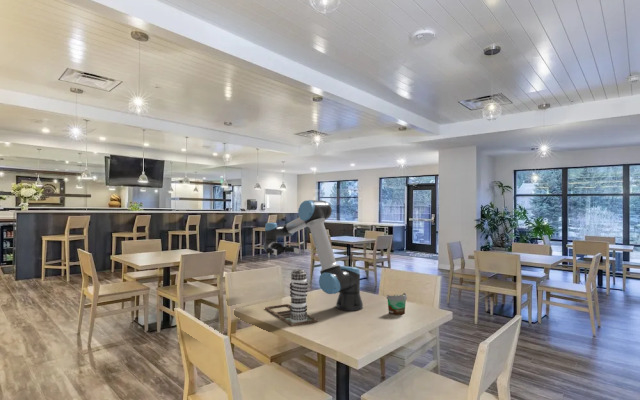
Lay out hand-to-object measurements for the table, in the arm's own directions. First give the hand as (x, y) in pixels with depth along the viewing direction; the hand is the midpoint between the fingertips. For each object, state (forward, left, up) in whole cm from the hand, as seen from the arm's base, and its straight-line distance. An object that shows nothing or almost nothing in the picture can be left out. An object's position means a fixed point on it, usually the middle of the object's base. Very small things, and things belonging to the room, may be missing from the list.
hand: (287, 251), depth 201 cm
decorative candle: (-13, +19, -32) cm, 39 cm away
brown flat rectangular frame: (-6, +12, -32) cm, 34 cm away
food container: (-62, -6, -32) cm, 70 cm away
